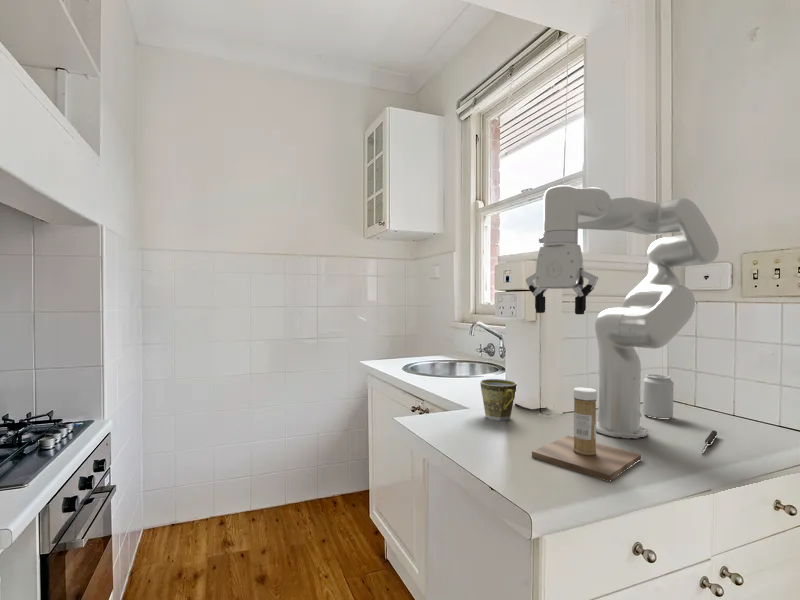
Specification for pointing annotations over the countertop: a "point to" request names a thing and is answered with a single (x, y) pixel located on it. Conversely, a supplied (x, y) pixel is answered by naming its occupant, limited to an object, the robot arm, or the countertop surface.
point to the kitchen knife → (709, 439)
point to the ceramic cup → (498, 398)
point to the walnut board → (587, 458)
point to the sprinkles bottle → (585, 421)
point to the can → (658, 396)
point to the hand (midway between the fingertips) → (559, 313)
